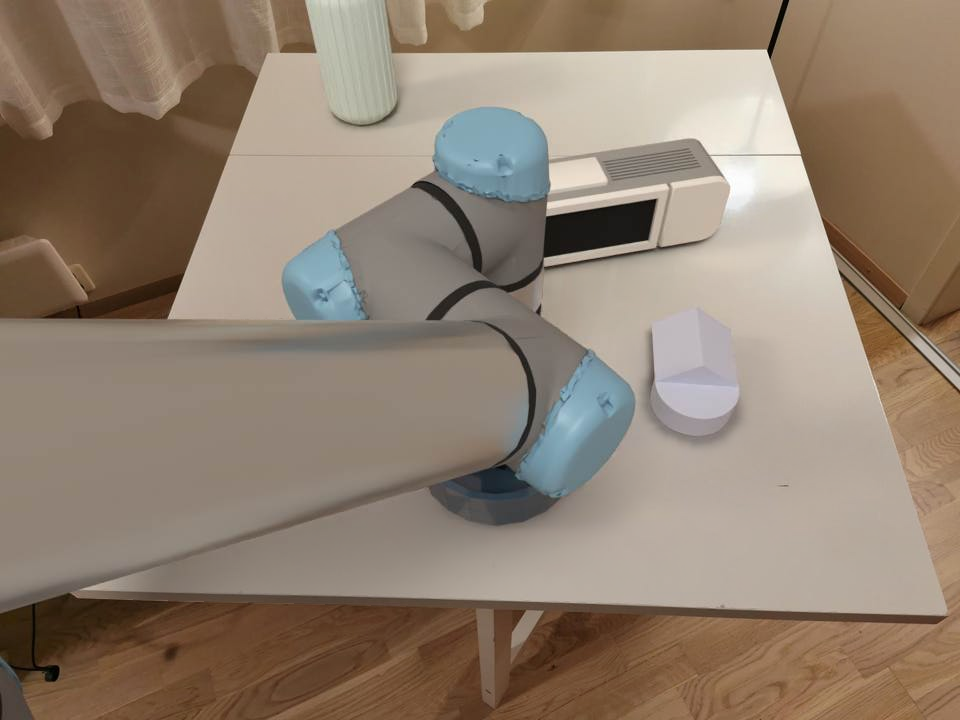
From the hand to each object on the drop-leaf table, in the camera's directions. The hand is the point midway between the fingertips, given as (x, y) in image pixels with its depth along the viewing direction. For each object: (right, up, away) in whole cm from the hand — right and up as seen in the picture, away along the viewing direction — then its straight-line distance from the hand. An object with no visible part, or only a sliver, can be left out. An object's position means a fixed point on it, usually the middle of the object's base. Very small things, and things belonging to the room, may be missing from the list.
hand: (497, 450), depth 75 cm
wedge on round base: (+22, +6, +6) cm, 24 cm away
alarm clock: (+16, +26, +22) cm, 38 cm away
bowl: (0, -1, +1) cm, 1 cm away
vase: (-21, +51, +43) cm, 70 cm away
